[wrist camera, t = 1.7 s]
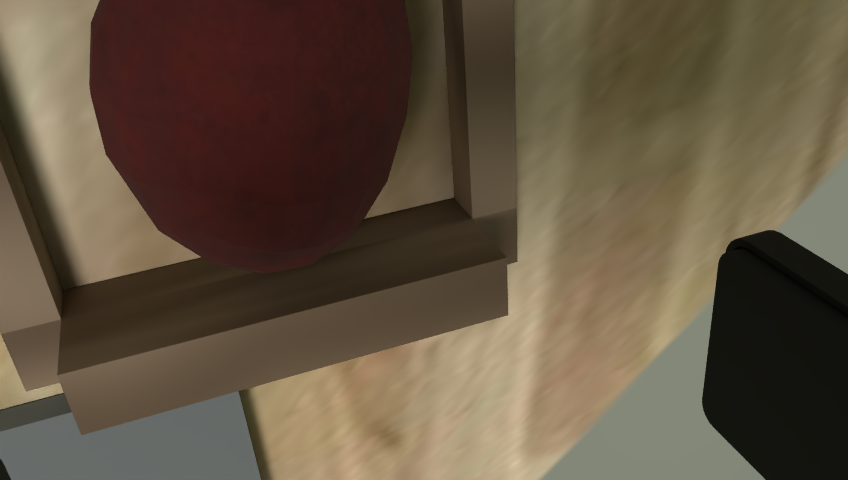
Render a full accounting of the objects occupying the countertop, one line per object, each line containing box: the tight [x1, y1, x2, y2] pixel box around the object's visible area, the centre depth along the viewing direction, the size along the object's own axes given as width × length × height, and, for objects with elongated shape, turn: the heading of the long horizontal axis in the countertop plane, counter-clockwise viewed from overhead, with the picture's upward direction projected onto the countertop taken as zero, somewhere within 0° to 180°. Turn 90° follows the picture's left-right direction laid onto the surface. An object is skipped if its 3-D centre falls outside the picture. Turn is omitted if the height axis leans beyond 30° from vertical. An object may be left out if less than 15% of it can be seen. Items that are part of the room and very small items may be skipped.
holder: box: [0, 0, 517, 435], centre depth 20 cm, size 15×15×4 cm
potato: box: [89, 0, 412, 273], centre depth 19 cm, size 8×9×6 cm
